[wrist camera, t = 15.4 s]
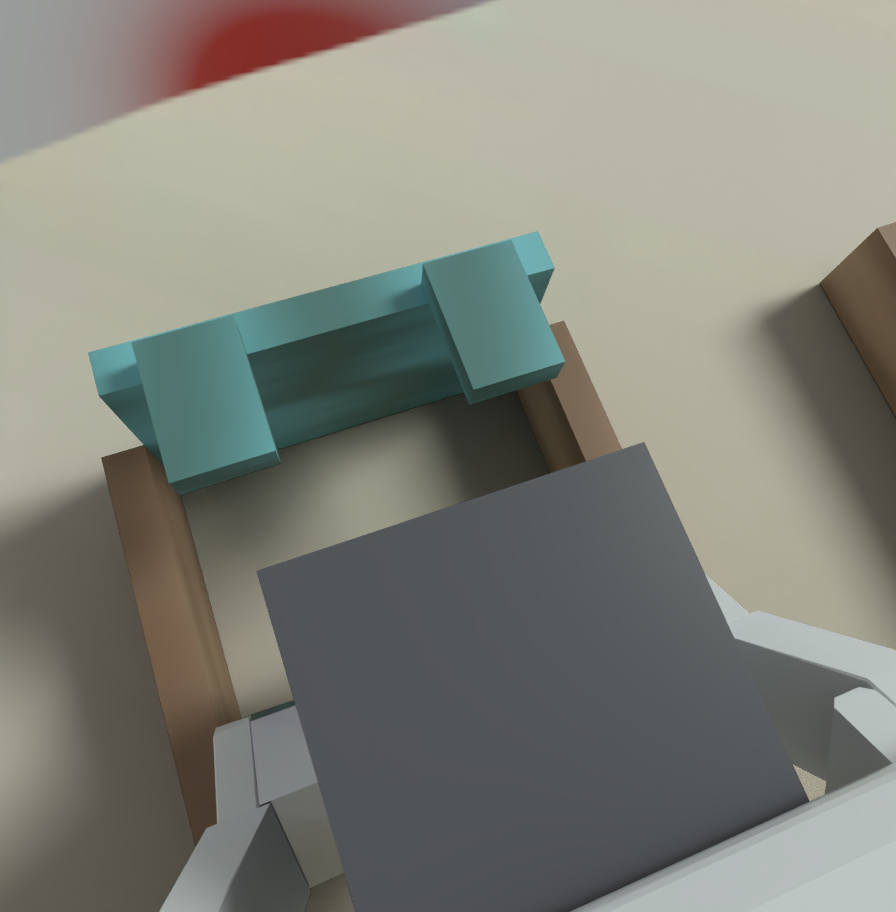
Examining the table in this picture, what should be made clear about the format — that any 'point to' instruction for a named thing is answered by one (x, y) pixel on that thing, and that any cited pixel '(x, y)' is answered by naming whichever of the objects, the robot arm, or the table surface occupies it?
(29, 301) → the table surface
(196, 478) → the frame
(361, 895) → the tall grey block
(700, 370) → the table surface
